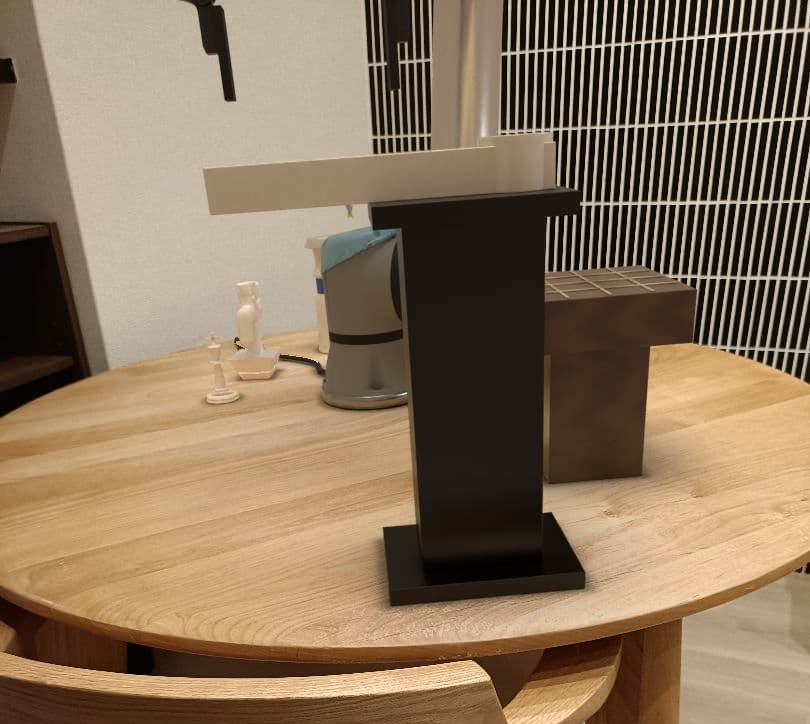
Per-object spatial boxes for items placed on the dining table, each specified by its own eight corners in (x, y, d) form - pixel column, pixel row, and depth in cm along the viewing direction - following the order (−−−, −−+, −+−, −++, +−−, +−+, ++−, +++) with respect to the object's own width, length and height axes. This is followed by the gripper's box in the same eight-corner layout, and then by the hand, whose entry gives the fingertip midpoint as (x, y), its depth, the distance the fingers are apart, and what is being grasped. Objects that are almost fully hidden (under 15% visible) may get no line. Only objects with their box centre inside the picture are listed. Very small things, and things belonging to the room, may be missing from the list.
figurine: (230, 384, 131) (214, 288, 125) (244, 368, 140) (230, 278, 133) (274, 382, 131) (260, 285, 124) (286, 367, 139) (274, 275, 132)
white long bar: (208, 216, 56) (199, 158, 54) (219, 210, 60) (210, 156, 59) (558, 189, 56) (559, 131, 55) (542, 185, 61) (542, 131, 59)
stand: (390, 606, 66) (355, 209, 53) (383, 540, 77) (353, 197, 64) (585, 588, 67) (600, 190, 53) (551, 525, 78) (556, 181, 64)
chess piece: (209, 395, 126) (197, 330, 122) (241, 392, 126) (230, 327, 122) (204, 404, 122) (192, 337, 117) (238, 402, 122) (227, 334, 118)
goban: (526, 497, 84) (526, 301, 75) (499, 445, 98) (497, 275, 89) (680, 484, 84) (698, 287, 76) (631, 433, 99) (641, 264, 90)
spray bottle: (342, 340, 154) (327, 197, 143) (372, 346, 149) (360, 197, 138) (307, 350, 149) (290, 202, 138) (338, 355, 144) (322, 202, 133)
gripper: (89, -257, 55) (153, 103, 64) (459, -272, 56) (468, 82, 65) (114, -213, 61) (168, 107, 71) (443, -227, 63) (454, 88, 72)
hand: (313, 96), depth 68 cm, fingers open, 13 cm apart
